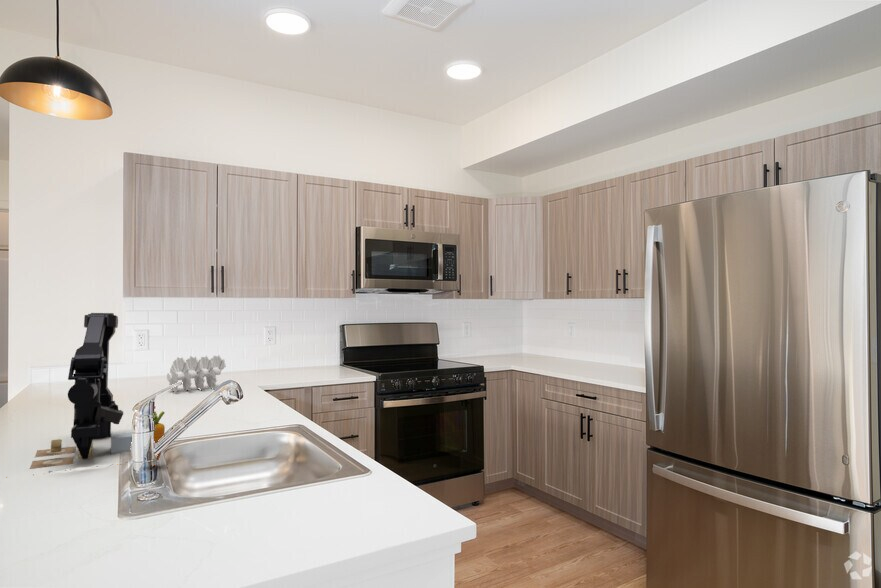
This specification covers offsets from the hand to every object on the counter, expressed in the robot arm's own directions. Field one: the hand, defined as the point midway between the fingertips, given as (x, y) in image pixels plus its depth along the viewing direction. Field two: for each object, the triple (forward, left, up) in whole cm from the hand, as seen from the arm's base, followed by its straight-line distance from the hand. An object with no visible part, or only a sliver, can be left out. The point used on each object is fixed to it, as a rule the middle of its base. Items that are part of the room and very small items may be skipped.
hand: (85, 456), depth 143 cm
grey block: (-9, -4, -1) cm, 10 cm away
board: (+7, -10, -1) cm, 12 cm away
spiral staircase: (-43, -116, -1) cm, 124 cm away
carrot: (-15, +16, -1) cm, 22 cm away
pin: (0, 0, -1) cm, 1 cm away
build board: (+7, +2, -1) cm, 7 cm away
